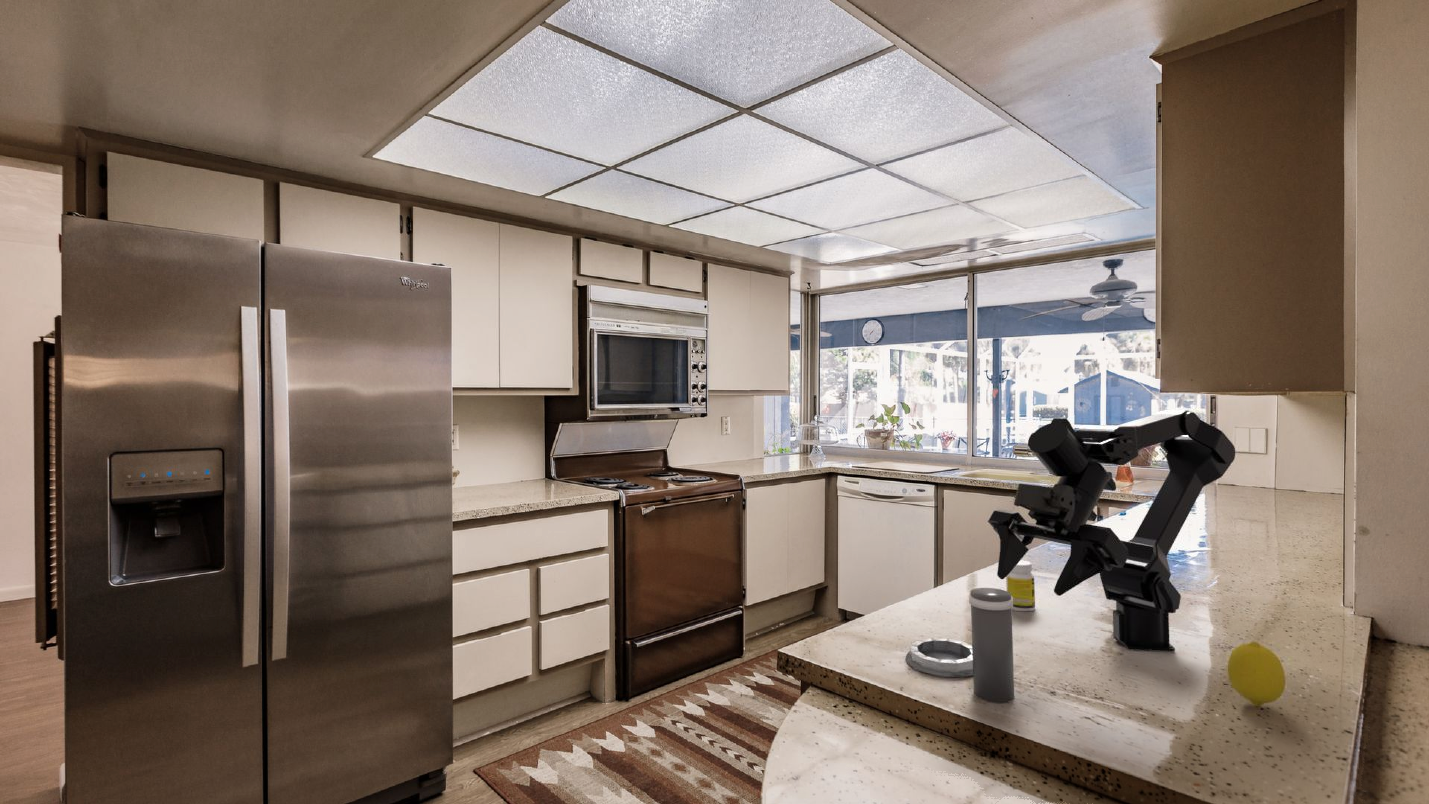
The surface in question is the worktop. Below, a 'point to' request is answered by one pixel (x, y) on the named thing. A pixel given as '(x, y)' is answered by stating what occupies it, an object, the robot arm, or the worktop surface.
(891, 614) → the worktop surface
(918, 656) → the mount ring
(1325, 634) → the worktop surface
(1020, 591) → the supplement bottle
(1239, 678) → the lemon
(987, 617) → the grey cylinder
